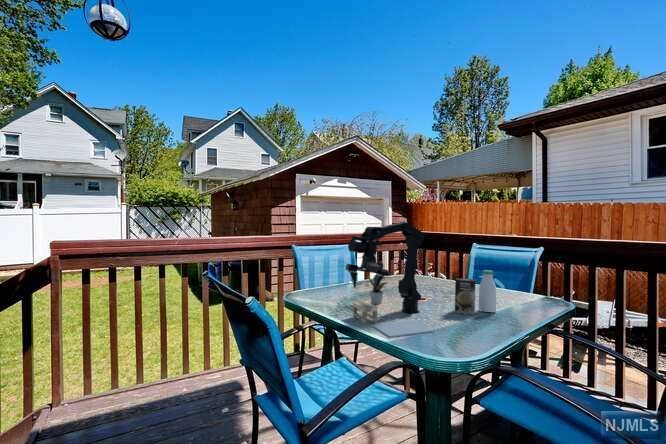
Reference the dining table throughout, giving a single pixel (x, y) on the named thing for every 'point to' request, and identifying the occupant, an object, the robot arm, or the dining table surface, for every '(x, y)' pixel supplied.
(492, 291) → the milk bottle
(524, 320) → the dining table surface
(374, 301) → the house plant
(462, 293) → the coffee box
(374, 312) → the stool
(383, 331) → the mat
